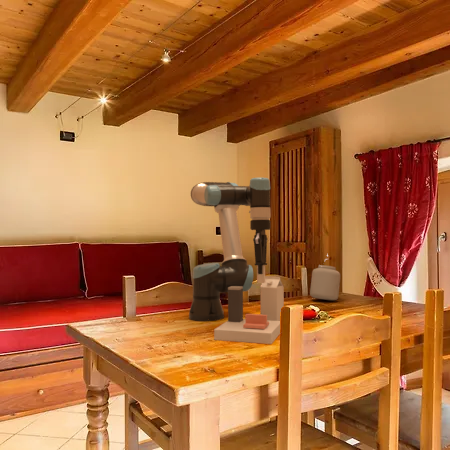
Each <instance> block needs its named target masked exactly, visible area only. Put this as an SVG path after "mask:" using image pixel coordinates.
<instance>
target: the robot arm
mask: <svg viewBox="0 0 450 450" xmlns="http://www.w3.org/2000/svg"><path fill="white" fill-rule="evenodd" d="M190 199H191V200H192V201H193V203H195V204H196V205H199V206H203V207H213V208H214V211H215V213H217V214H218V220H219V227H220V228H219V229H220V236H221V237H220V238H221V244H222V251H223V261H222V262H221V265H220V263H219V262H212V263H210V262H209V263H204V264H198V265H195V266H194V267H193V269H192V277H191V278H192V301H191V305H190V308H189V311H188V319H189V320H192V321H199V322H200V321H201V322H212V321H219V320H222V319H224V318H225V313H224V309H223V305H222V303H221V300H220V297H221V296H220V295H221V294H223V293H228V287H230V286H243V292H248V291H250V289H251V288H252V285H253V281H254V268H253V266H252V264H248V260H247V259H246V258H245V257H244V256H243V249H242V243H241V235H240V227H239V221H238V215H237V211H238V210H239V208H240V206H246V207H249V209H250V210H248V213H249V215H250V219H251V220H250V221H249V224H250V230H252V231H255V234H254V235H253V236H254V238H253V239H252V240H253V245H254V246H253V247H254V248H253V249H254V259H255V261H254V262H255V263H254V266H256V284H262V283H265V276H266V266H267V265H268V263H267V251H268V247H267V246H268V241H269V239H268V237H267V236H268V235H267V233H266V231H267V230H268V231H269V230H271V228H272V227H271V226H272V224H271V220H270V219H271V217H272V216H271V212H272V211H271V181H270V178H268V177H252V178H250V180H249V185H238V184H237V183H236V182H230V181H227V182H222V181H220V182H218V181H214V182H213V181H204V182H200V183H196V184H195V185H193V187H192V188H191V191H190Z"/></svg>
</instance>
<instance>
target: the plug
mask: <svg viewBox="0 0 450 450" xmlns="http://www.w3.org/2000/svg"><path fill="white" fill-rule="evenodd" d="M243 292H244V291H243V286H230V287H228V292H227V313H228V314H227V321H228V322H241V321H242V320H243V319H244V299H243V298H244V295H243V294H244V293H243Z"/></svg>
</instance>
